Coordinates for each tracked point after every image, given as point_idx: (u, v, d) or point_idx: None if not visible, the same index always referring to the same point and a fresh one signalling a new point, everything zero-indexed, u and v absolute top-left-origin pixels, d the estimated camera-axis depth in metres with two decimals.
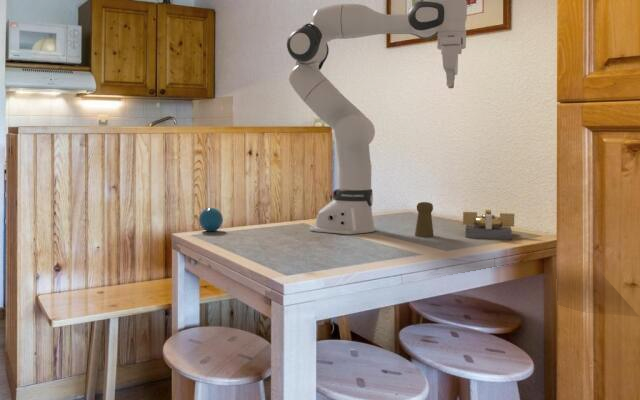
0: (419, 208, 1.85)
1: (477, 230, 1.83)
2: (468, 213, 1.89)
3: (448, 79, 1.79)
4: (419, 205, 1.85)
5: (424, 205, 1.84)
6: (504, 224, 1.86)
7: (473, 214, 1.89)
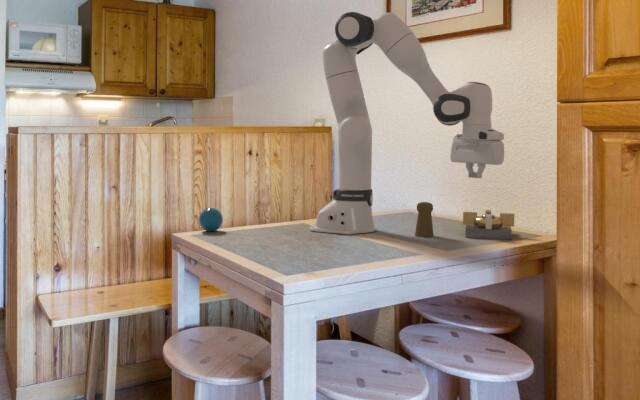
0: (419, 208, 1.85)
1: (477, 230, 1.83)
2: (468, 213, 1.89)
3: (479, 172, 1.81)
4: (419, 205, 1.85)
5: (424, 205, 1.84)
6: (504, 224, 1.86)
7: (473, 214, 1.89)
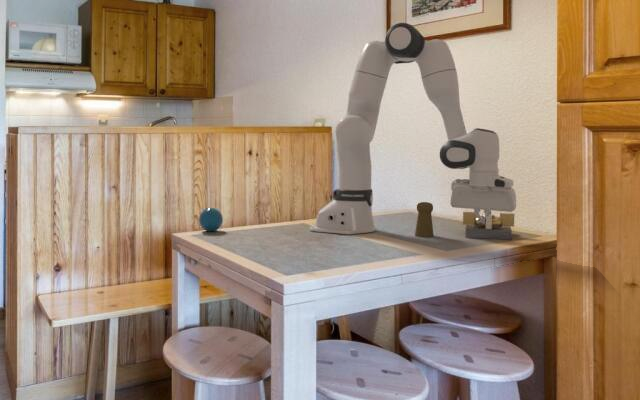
0: (419, 208, 1.85)
1: (477, 230, 1.83)
2: (468, 213, 1.89)
3: (485, 218, 1.83)
4: (419, 205, 1.85)
5: (424, 205, 1.84)
6: (504, 224, 1.86)
7: (473, 214, 1.89)
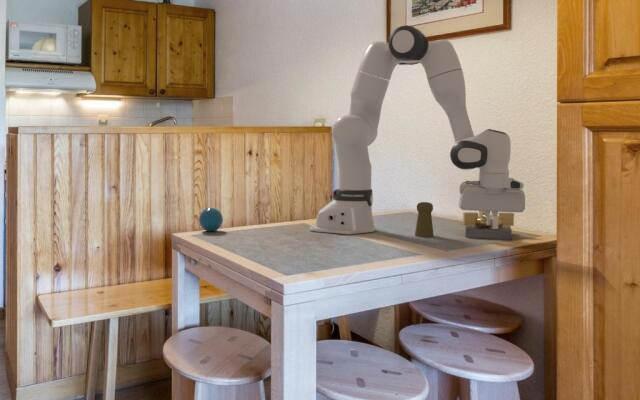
0: (419, 208, 1.85)
1: (477, 230, 1.83)
2: (469, 214, 1.87)
3: None
4: (419, 205, 1.85)
5: (424, 205, 1.84)
6: (504, 223, 1.88)
7: (474, 215, 1.87)
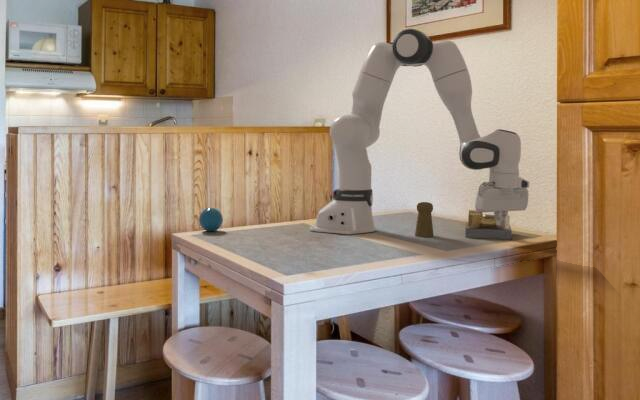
0: (419, 208, 1.85)
1: (477, 230, 1.83)
2: (476, 215, 1.84)
3: None
4: (419, 205, 1.85)
5: (424, 205, 1.84)
6: None
7: (480, 216, 1.85)
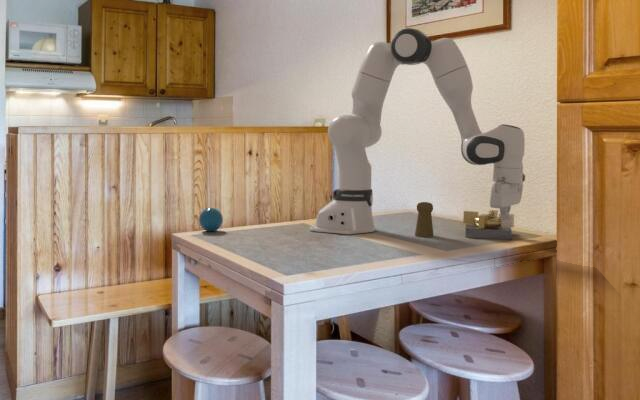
0: (419, 208, 1.85)
1: (477, 230, 1.83)
2: (485, 216, 1.82)
3: None
4: (419, 205, 1.85)
5: (424, 205, 1.84)
6: None
7: (487, 216, 1.84)
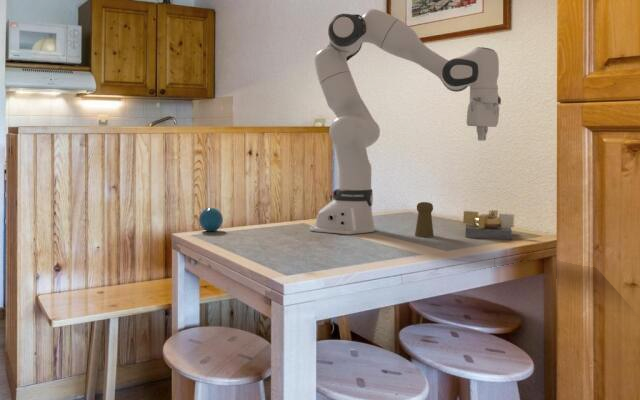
0: (419, 208, 1.85)
1: (477, 230, 1.83)
2: (485, 216, 1.82)
3: None
4: (419, 205, 1.85)
5: (424, 205, 1.84)
6: None
7: (487, 216, 1.84)
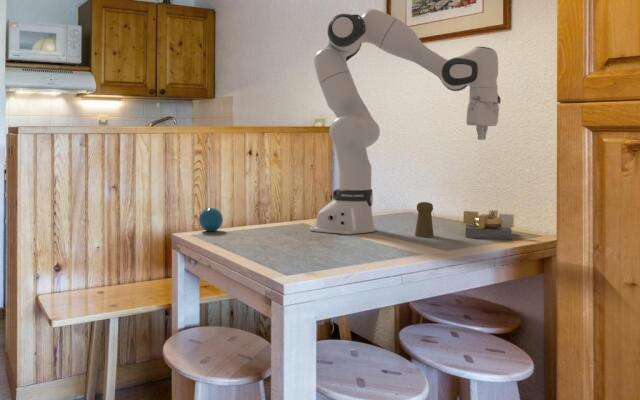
0: (419, 208, 1.85)
1: (477, 230, 1.83)
2: (485, 216, 1.82)
3: None
4: (419, 205, 1.85)
5: (424, 205, 1.84)
6: None
7: (487, 216, 1.84)
